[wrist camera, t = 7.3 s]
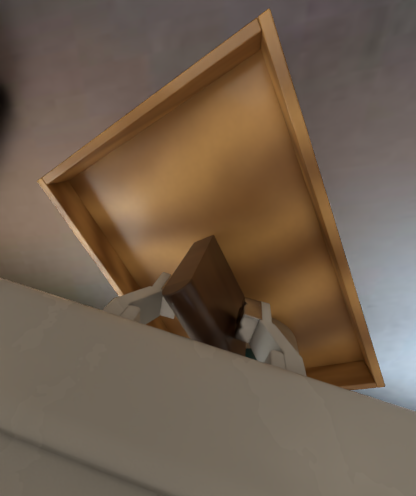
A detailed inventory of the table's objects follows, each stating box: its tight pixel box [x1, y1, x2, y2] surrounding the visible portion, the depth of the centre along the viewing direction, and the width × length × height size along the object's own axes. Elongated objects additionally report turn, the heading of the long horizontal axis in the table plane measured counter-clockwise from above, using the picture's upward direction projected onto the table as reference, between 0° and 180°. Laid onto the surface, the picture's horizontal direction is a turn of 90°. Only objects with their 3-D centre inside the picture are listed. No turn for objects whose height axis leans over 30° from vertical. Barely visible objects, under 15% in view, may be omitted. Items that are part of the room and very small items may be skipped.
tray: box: [37, 9, 385, 390], centre depth 13 cm, size 22×15×7 cm
